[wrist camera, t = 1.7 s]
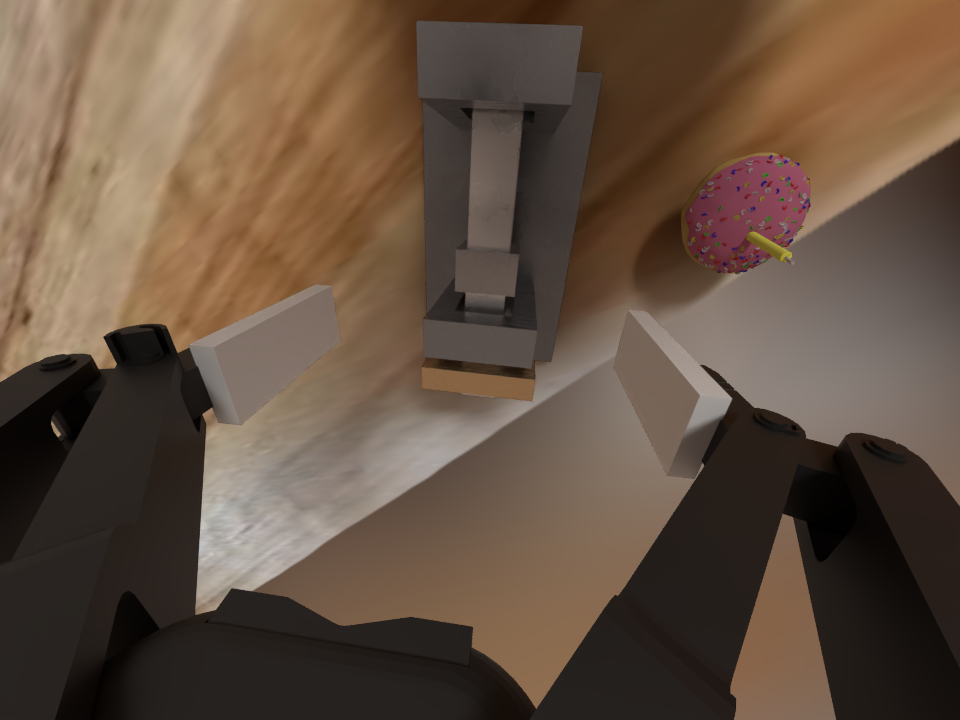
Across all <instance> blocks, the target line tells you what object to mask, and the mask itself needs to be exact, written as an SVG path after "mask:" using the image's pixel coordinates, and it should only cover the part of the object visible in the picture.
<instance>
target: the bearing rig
mask: <svg viewBox="0 0 960 720" xmlns="http://www.w3.org/2000/svg"><path fill="white" fill-rule="evenodd" d="M416 29H417V74H418V98H419V99H421V100H422V101H423V137H424V194H425V252H426V310H427V315H426V316H425V317H424V319H423V338H424V357H430V358H439V359H448V360H457V361H466V362H475V363H484V364H493V365H502V366H512V367H521V368H530V369H532V363H533V357H534V358H535V360H537V361H547V362H551V359H552V354H553V348H554V342H555V337H556V331H557V326H558V320H559V315H560V309H561V304H562V298H563V292H564V287H565V281H566V276H567V270H568V265H569V259H570V253H571V248H572V242H573V237H574V231H575V226H576V220H577V214H578V209H579V203H580V198H581V192H582V187H583V181H584V176H585V170H586V164H587V159H588V153H589V148H590V142H591V137H592V131H593V125H594V120H595V114H596V109H597V103H598V98H599V92H600V86H601V81H602V75H603V73H598V72H576V71H577V64H578V58H579V51H580V45H581V38H582V31H583V26H577V25H543V24H510V23H476V22H442V21H416ZM473 108H479V109H499V110H519V111H524V119H523V129H522V139H521V149H520V160H519V170H518V180H517V190H516V200H515V211H514V221H513V231H512V241H511V243H514V244H520V251H519V261H518V270H517V279H516V288H515V297H510V296H506V303H505V313H504V315H494V314H484V313H474V312H465V296H466V292H457V291H455V266H456V249H457V248H458V247H459V246H460V245H461V244H462V243H463V242H464V241H465V240H468V220H469V194H470V169H471V144H472V118H473Z"/></svg>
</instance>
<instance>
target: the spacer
mask: <svg viewBox="0 0 960 720" xmlns="http://www.w3.org/2000/svg"><path fill="white" fill-rule="evenodd" d="M534 386H535V358H534V357H533V363H532V369H530V368H521V367H512V366H502V365H493V364H484V363H475V362H466V361H457V360H448V359H439V358H430V357H427V358H426V360H425V362H424V364H423V365H422V388H424V389H432V390H441V391H449V392H458V393H466V394H475V395H483V396H492V397H500V398H509V399H517V400H526V401H532V399H533V392H534Z"/></svg>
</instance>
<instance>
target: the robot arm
mask: <svg viewBox="0 0 960 720" xmlns="http://www.w3.org/2000/svg"><path fill="white" fill-rule="evenodd" d="M104 339H105V341H106V343H107V345H108V347H109V349H110V351H111V353H112V355H113V357H114V359H115V361H116V363H117V365H116V367H115V368H113V369H98V367H97V365H96V363H95V362H94V360H93V358H92V356H91V355H88V354H69V355H65V354H61V355H55V356H51V357H47V358H45V359H43V360H41V361H39V362H36V363H33V364H31V365H29V366H27V367H25V368H23V369H21V370H20V371H18V372H17V373H15V374H13V375H12V376H10V377H8V378H7V379H5V380H3V381H2V382H0V720H734V716H735V712H736V698H735V697H734V696H733V695H732V694H730V686H731V682H732V678H733V674H734V671H735V668H736V664H737V661H738V658H739V654H740V651H741V648H742V645H743V641H744V638H745V635H746V632H747V629H748V625H749V622H750V619H751V615H752V612H753V608H754V606H755V602H756V599H757V596H758V592H759V589H760V586H761V583H762V579H763V576H764V573H765V570H766V566H767V563H768V560H769V556H770V553H771V550H772V546H773V543H774V540H775V537H776V533H777V530H778V527H779V524H780V520H781V517H782V514H785V515H788V516H792V517H793V519H794V523H795V528H796V533H797V538H798V542H799V547H800V552H801V556H802V561H803V566H804V571H805V575H806V579H807V584H808V589H809V594H810V599H811V603H812V608H813V612H814V618H815V622H816V627H817V631H818V636H819V641H820V646H821V650H822V655H823V660H824V664H825V669H826V674H827V678H828V683H829V688H830V693H831V697H832V702H833V707H834V711H835V716H836V720H960V506H959V505H958V503H957V502H956V501H955V500H954V498H953V497H952V496H951V494H950V493H949V492H948V491H947V489H946V488H945V486H944V485H943V484H942V482H941V481H940V480H939V478H938V477H937V476H936V475H935V473H934V472H933V471H932V469H931V468H930V467H929V465H928V464H927V463H926V462H925V461H924V460H923V459H921V458H920V457H919V456H918V455H916V454H914V453H913V452H911V451H909V450H908V449H907V448H906V447H905V446H903V445H901V444H896V442H894V441H891V440H888V439H882V438H879V437H876V436H873V435H868V434H864V433H850V434H848V435H846V436H845V437H844V439H843V440H842V442H841V443H840V445H839V446H838V447H836V446H833V445H829V444H825V443H821V442H818V441H814V440H810V439H806V434H805V431H804V430H803V429H802V428H801V427H800V426H799V425H798V424H797V423H795V422H794V421H792V420H791V419H789V418H787V417H784V416H782V415H780V414H778V413H775V412H772V411H769V410H765V409H760V408H754V407H753V406H752V405H751V404H749V403H748V402H747V401H746V400H745V399H744V398H743V397H742V396H741V395H740V394H739V393H738V392H737V391H735V390H734V388H733V387H732V386H731V385H730V384H728V383H727V382H726V381H725V380H724V378H722V376H720V375H719V374H718V373H717V372H715V371H713V370H712V369H710V368H708V367H706V366H705V365H699V364H698V363H697V362H696V361H695V360H694V359H693V358H692V357H691V356H690V355H689V354H688V353H687V352H686V351H685V350H684V349H683V348H682V347H681V346H680V345H679V344H678V343H677V342H676V341H675V340H674V339H673V338H672V336H671V335H670V334H669V333H667V331H666V330H665V329H663V327H662V326H661V325H660V324H659V323H658V322H657V321H656V320H655V319H654V318H653V317H652V316H651V315H650V314H649V313H648V312H647V311H637V310H628V313H627V316H626V320H625V324H624V328H623V332H622V336H621V339H620V343H619V347H618V351H617V355H616V358H615V362H614V366H613V367H614V369H615V371H616V373H617V375H618V377H619V379H620V381H621V383H622V385H623V388H624V390H625V392H626V394H627V396H628V398H629V400H630V402H631V403H632V406H633V408H634V410H635V412H636V414H637V416H638V418H639V420H640V422H641V424H642V426H643V428H644V430H645V432H646V434H647V436H648V438H649V440H650V442H651V444H652V446H653V448H654V450H655V452H656V454H657V456H658V459H659V461H660V463H661V465H662V467H663V469H664V471H665V473H666V475H667V476H675V477H683V478H692V479H695V477H696V475H697V473H698V471H699V469H700V467H701V464H702V463H703V464H704V468H703V469H702V471H701V472H700V474H699V475H698V477H697V478H696V480H695V481H694V483H693V484H692V486H691V487H690V489H689V490H688V492H687V493H686V495H685V496H684V498H683V500H682V501H681V502H680V504H679V506H678V507H677V509H676V510H675V512H674V513H673V515H672V516H671V518H670V519H669V521H668V522H667V524H666V525H665V527H664V528H663V530H662V531H661V533H660V534H659V536H658V537H657V539H656V540H655V542H654V543H653V545H652V546H651V548H650V550H649V551H648V553H647V554H646V556H645V557H644V559H643V560H642V562H641V563H640V565H639V566H638V568H637V569H636V571H635V572H634V574H633V575H632V577H631V579H630V580H629V581H628V583H627V585H626V586H625V587H624V589H623V590H622V592H621V593H620V594H619V595H618V596H616V595H615V596H614V597H613V598H612V599H611V600H610V602H609V603H608V604H607V606H606V607H605V608H604V610H603V611H602V613H601V614H600V616H599V617H598V619H597V620H596V622H595V623H594V625H593V626H592V627H591V629H590V631H589V632H588V633H587V635H586V636H585V638H584V639H583V641H582V642H581V644H580V645H579V647H578V648H577V650H576V651H575V653H574V654H573V656H572V657H571V659H570V660H569V662H568V663H567V665H566V666H565V667H564V669H563V670H562V672H561V673H560V675H559V677H558V678H557V679H556V681H555V682H554V684H553V685H552V687H551V688H550V690H549V691H548V693H547V695H546V696H545V697H544V699H543V700H542V702H541V703H540V705H539V706H538V708H537V709H536V708H535V706H534V705H533V703H532V702H531V700H530V699H529V697H528V696H527V694H526V693H525V692H524V691H523V689H522V688H521V687H520V686H519V685H518V683H517V682H516V681H515V680H514V679H513V678H512V677H511V676H510V675H509V674H508V673H507V672H506V671H505V670H504V669H503V668H502V667H501V666H500V665H498V664H497V663H496V662H494V661H493V660H491V659H490V658H489V657H487V656H486V655H485V654H483V653H481V652H479V651H477V650H475V649H474V648H471V647H472V633H473V627H470V626H465V625H458V624H452V623H446V622H439V621H433V620H427V619H421V618H414V617H408V618H400V619H393V620H386V621H379V622H372V623H365V624H357V625H350V626H340V625H337V624H335V623H333V622H331V621H329V620H327V619H326V618H324V617H322V616H321V615H319V614H317V613H315V612H313V611H312V610H310V609H308V608H306V607H305V606H303V605H301V604H299V603H297V602H295V601H294V600H292V599H290V598H288V597H283V596H277V595H270V594H264V593H257V592H252V591H245V590H239V589H233V588H232V589H231V590H230V591H229V593H228V594H227V596H226V597H225V598H224V600H223V601H222V602H221V604H220V605H219V607H218V608H217V609H216V610H214V611H210V612H206V613H202V614H198V615H195V605H196V589H197V572H198V555H199V539H200V522H201V505H202V489H203V472H204V455H205V439H206V422H205V420H204V417H203V415H202V414H203V413H205V412H206V411H207V410H209V409H210V408H213V410H214V413H215V415H216V418H217V421H218V423H225V424H234V425H242V424H243V423H244V422H245V421H246V420H248V419H249V418H250V417H251V416H252V415H253V414H255V413H256V412H257V411H258V410H259V409H261V408H262V407H263V406H264V405H265V404H266V403H268V402H269V401H270V400H271V399H272V398H274V397H275V396H276V395H277V394H278V393H279V392H281V391H282V390H283V389H284V388H285V387H287V386H288V385H289V384H290V383H291V382H293V381H294V380H295V379H296V378H297V377H298V376H300V375H301V374H302V373H303V372H304V371H306V370H307V369H308V368H309V367H310V366H311V365H313V364H314V363H315V362H316V361H317V360H319V359H320V358H321V357H322V356H323V355H324V354H326V353H327V352H328V351H329V350H330V349H332V348H333V347H334V346H335V345H336V344H337V343H339V342H340V336H339V330H338V323H337V317H336V310H335V304H334V298H333V291H332V286H328V285H314V286H311V287H309V288H307V289H305V290H303V291H301V292H299V293H297V294H295V295H292V296H290V297H288V298H286V299H284V300H282V301H280V302H278V303H275V304H273V305H271V306H269V307H267V308H265V309H263V310H261V311H259V312H256V313H254V314H252V315H250V316H248V317H246V318H244V319H242V320H240V321H237V322H235V323H233V324H231V325H229V326H227V327H225V328H223V329H221V330H218V331H216V332H214V333H212V334H210V335H208V336H206V337H204V338H202V339H199V340H197V341H195V342H193V343H191V344H189V348H188V349H186V350H184V351H181V352H179V353H177V351H176V349H175V346H174V344H173V341H172V339H171V336H170V334H169V331H168V329H167V327H166V326H165V325H162V324H142V325H135V326H130V327H125V328H122V329H118V330H115V331H113V332H110V333H108V334H107V335H105V336H104ZM51 420H52V422H53V423H54V425H55V426H56V428H57V429H58V431H59V432H60V434H61V435H60V436H59V437H57V436H56V434H55V433H54V431H53V429H52V426H51Z"/></svg>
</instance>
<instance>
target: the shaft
mask: <svg viewBox="0 0 960 720" xmlns="http://www.w3.org/2000/svg"><path fill="white" fill-rule="evenodd" d="M523 119H524V111H519V110H499V109H479V108H473V118H472V144H471V169H470V194H469V220H468V240H465V241H464V242H463V243H462V244H461V245H460V246H459V247H458V248H457V249H456V266H455V291H457V292H466V296H465V312H474V313H484V314H494V315H504V313H505V303H506V296H510V297H515V288H516V279H517V270H518V261H519V251H520V244H514V243H511V241H512V231H513V221H514V211H515V200H516V190H517V180H518V170H519V160H520V149H521V139H522V129H523ZM462 394H463V395H472V396H480V397H489V398H495V397H492V396H483V395H475V394H466V393H462Z"/></svg>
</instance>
